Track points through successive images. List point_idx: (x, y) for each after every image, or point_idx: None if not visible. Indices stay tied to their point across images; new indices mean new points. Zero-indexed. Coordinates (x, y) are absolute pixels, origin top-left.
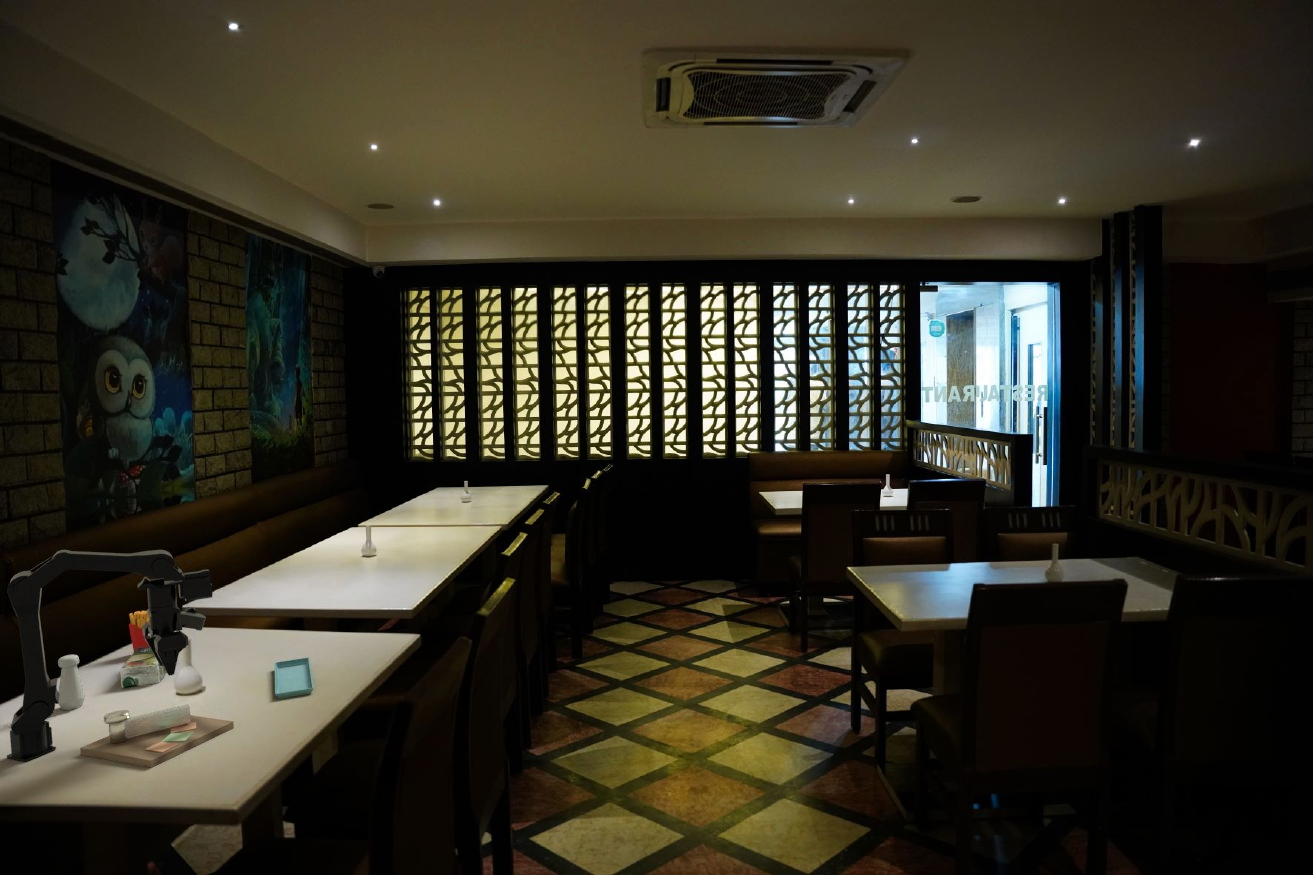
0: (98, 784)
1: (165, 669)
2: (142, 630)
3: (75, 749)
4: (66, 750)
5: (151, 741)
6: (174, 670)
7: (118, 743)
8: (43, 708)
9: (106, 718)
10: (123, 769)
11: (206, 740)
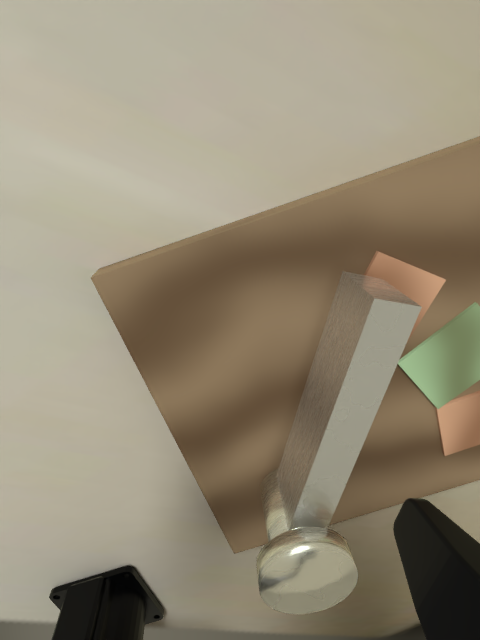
0: (474, 538)
1: (424, 617)
2: None
3: (175, 534)
4: (161, 548)
5: (392, 422)
6: (463, 535)
7: None
8: None
9: (321, 610)
10: (450, 490)
11: None
